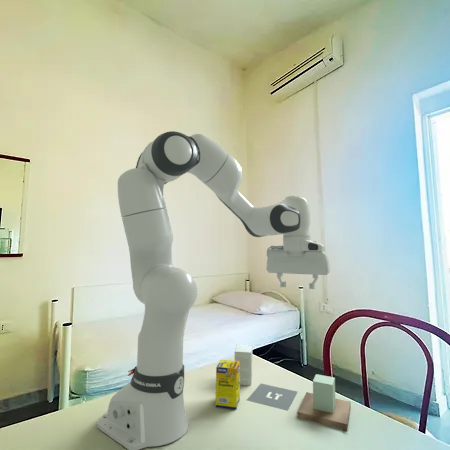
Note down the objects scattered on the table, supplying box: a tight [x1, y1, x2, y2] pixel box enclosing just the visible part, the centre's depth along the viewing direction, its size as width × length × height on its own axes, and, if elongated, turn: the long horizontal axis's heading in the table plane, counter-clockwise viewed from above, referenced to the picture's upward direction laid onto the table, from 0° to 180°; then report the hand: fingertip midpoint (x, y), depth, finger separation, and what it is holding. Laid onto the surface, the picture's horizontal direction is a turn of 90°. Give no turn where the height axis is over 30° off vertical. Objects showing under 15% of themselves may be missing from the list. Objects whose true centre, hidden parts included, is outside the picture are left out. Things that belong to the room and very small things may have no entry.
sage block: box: [312, 373, 336, 413], centre depth 80 cm, size 5×5×7 cm
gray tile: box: [246, 383, 299, 411], centre depth 88 cm, size 12×12×1 cm
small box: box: [234, 343, 253, 386], centre depth 99 cm, size 8×6×10 cm
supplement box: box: [215, 359, 241, 411], centre depth 84 cm, size 6×6×11 cm
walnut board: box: [296, 392, 352, 431], centre depth 79 cm, size 12×12×2 cm
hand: (297, 287), depth 97 cm, fingers open, 8 cm apart
